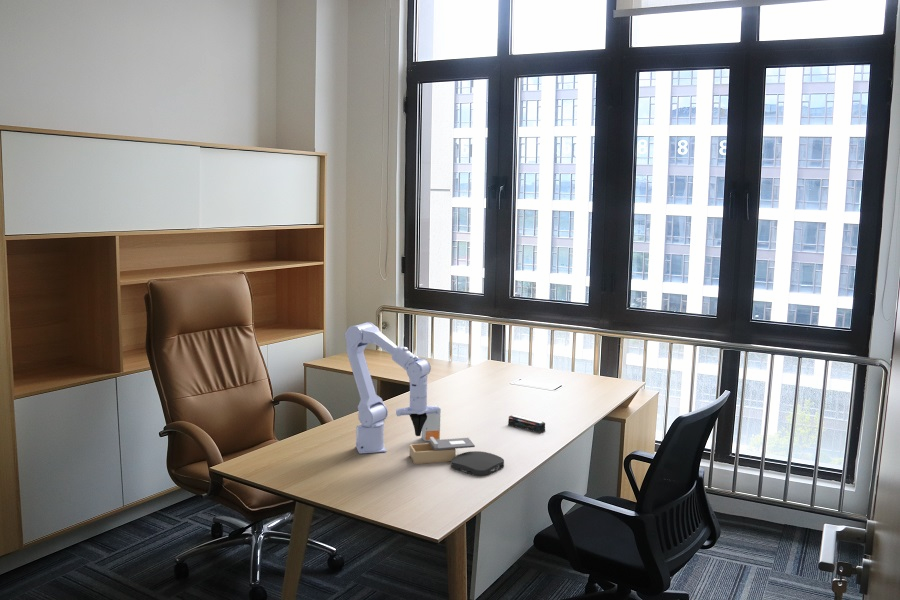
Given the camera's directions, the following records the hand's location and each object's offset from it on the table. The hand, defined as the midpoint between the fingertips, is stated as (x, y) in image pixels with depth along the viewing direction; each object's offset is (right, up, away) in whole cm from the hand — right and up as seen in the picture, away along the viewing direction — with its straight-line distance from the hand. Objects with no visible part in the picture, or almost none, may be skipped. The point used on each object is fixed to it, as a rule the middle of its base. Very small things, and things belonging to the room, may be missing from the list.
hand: (417, 435), depth 258 cm
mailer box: (+5, -8, +3) cm, 10 cm away
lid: (+11, -4, +4) cm, 12 cm away
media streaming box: (+20, -10, -4) cm, 23 cm away
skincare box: (+4, -5, +22) cm, 23 cm away
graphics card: (+39, -4, +38) cm, 55 cm away
